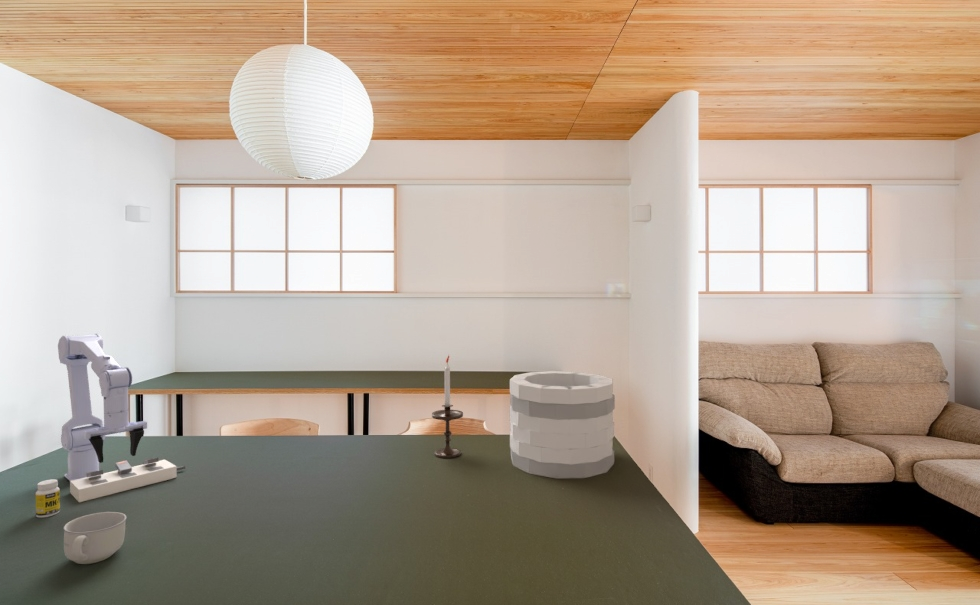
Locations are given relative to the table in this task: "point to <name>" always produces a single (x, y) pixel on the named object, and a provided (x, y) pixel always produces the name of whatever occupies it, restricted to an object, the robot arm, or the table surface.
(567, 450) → the storage basket
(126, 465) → the block
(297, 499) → the table surface
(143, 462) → the block
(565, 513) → the table surface
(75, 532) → the teacup
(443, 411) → the candlestick
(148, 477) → the power strip
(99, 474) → the rocker
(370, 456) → the table surface
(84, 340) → the robot arm
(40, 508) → the supplement bottle
